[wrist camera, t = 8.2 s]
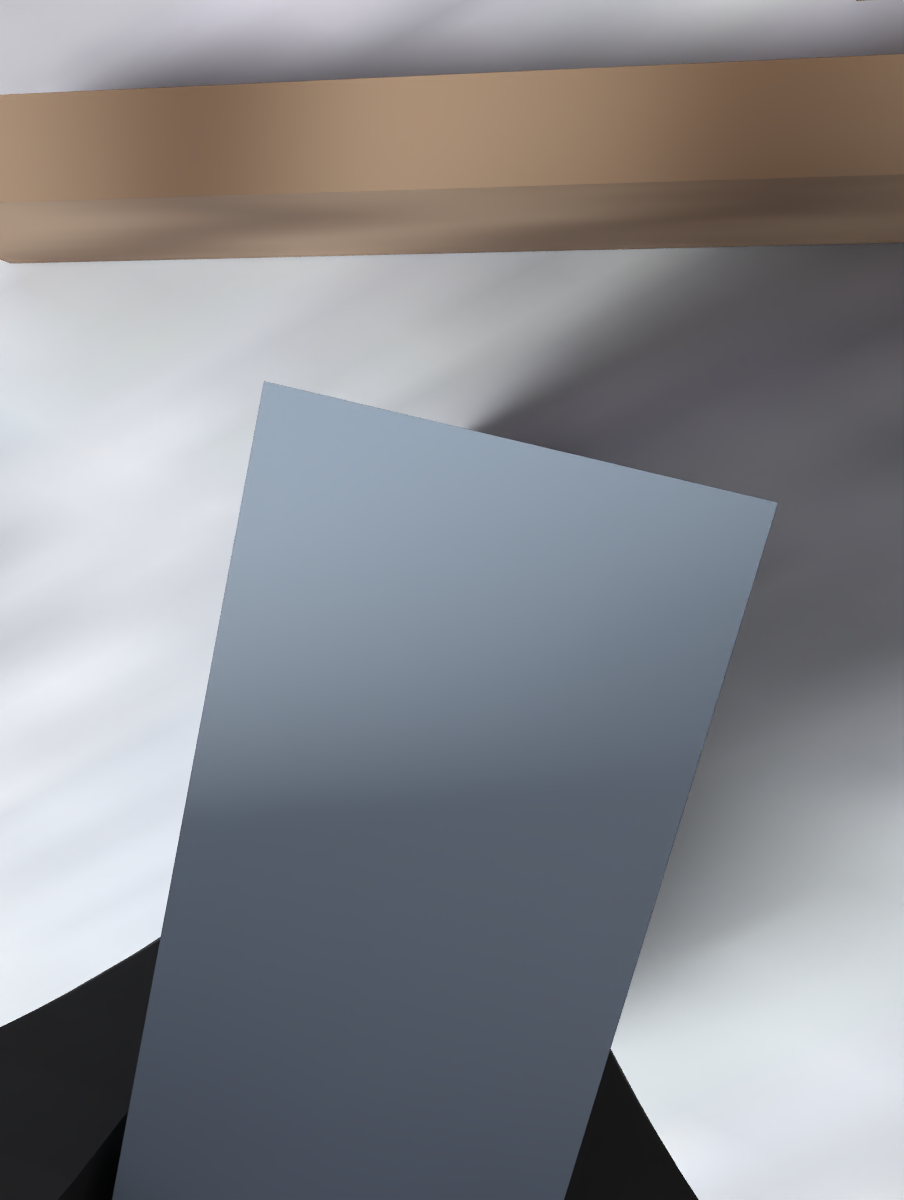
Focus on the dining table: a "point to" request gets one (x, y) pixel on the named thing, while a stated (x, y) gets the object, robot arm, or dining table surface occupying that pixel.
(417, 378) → the dining table surface
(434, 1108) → the blue grey rectangular slab
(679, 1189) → the robot arm
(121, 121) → the rack
